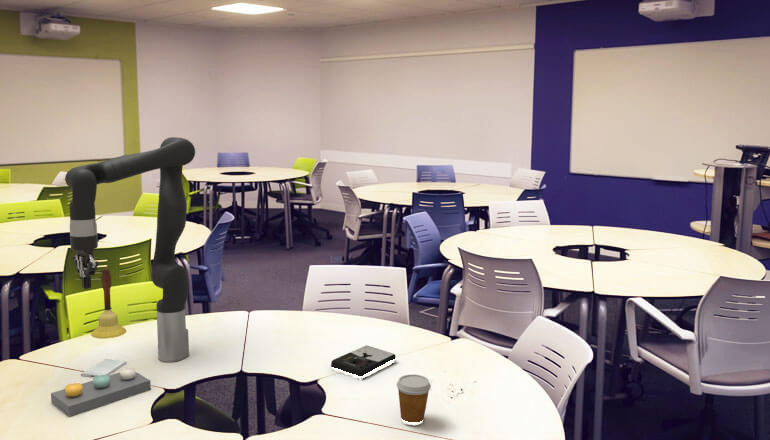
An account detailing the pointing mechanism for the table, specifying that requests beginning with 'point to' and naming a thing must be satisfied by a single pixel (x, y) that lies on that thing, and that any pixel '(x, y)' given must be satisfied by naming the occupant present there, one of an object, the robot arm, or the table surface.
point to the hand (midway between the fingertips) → (86, 288)
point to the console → (100, 394)
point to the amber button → (73, 389)
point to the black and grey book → (362, 360)
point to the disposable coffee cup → (413, 397)
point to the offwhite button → (127, 373)
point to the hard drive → (104, 368)
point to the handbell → (107, 313)
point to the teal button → (101, 381)
